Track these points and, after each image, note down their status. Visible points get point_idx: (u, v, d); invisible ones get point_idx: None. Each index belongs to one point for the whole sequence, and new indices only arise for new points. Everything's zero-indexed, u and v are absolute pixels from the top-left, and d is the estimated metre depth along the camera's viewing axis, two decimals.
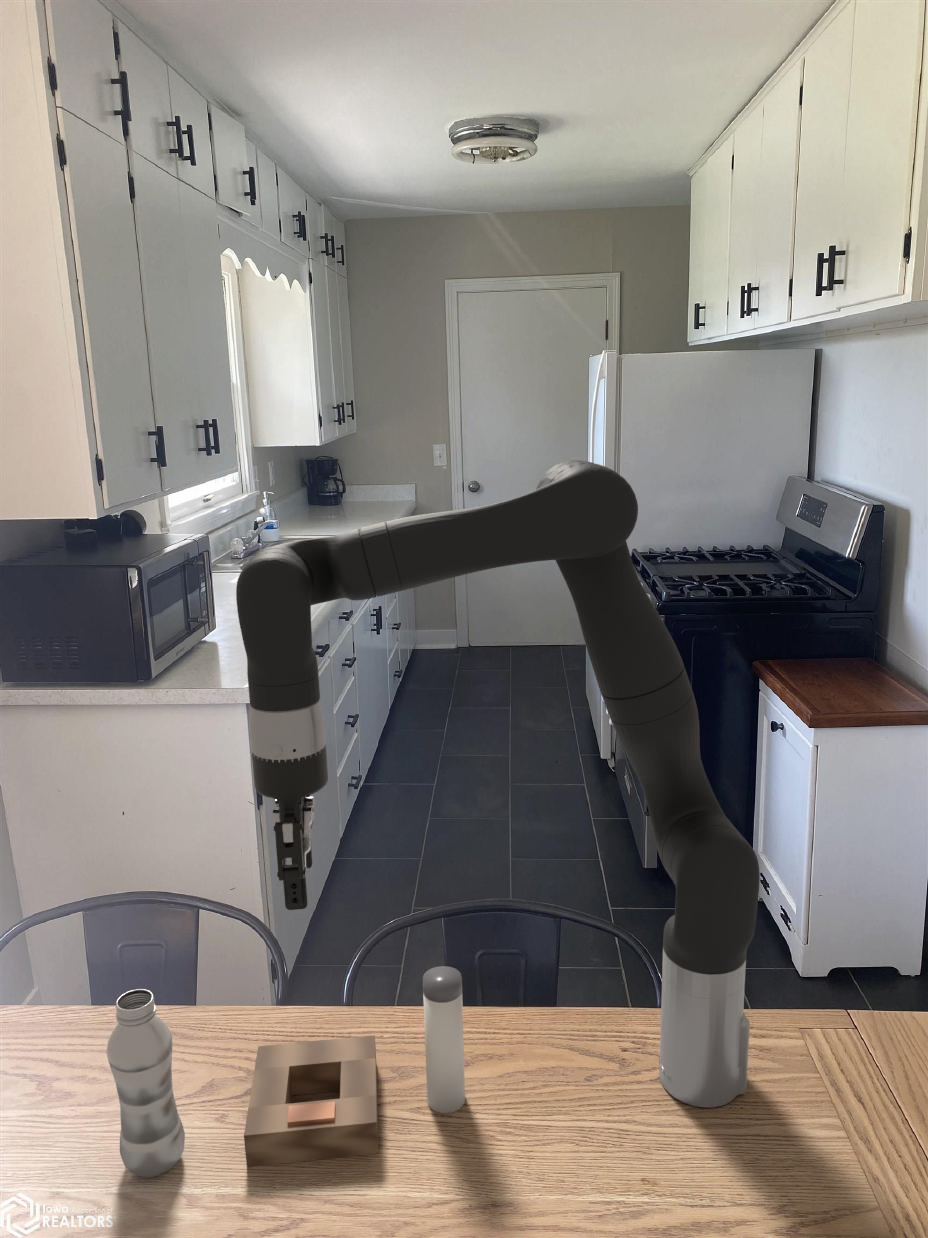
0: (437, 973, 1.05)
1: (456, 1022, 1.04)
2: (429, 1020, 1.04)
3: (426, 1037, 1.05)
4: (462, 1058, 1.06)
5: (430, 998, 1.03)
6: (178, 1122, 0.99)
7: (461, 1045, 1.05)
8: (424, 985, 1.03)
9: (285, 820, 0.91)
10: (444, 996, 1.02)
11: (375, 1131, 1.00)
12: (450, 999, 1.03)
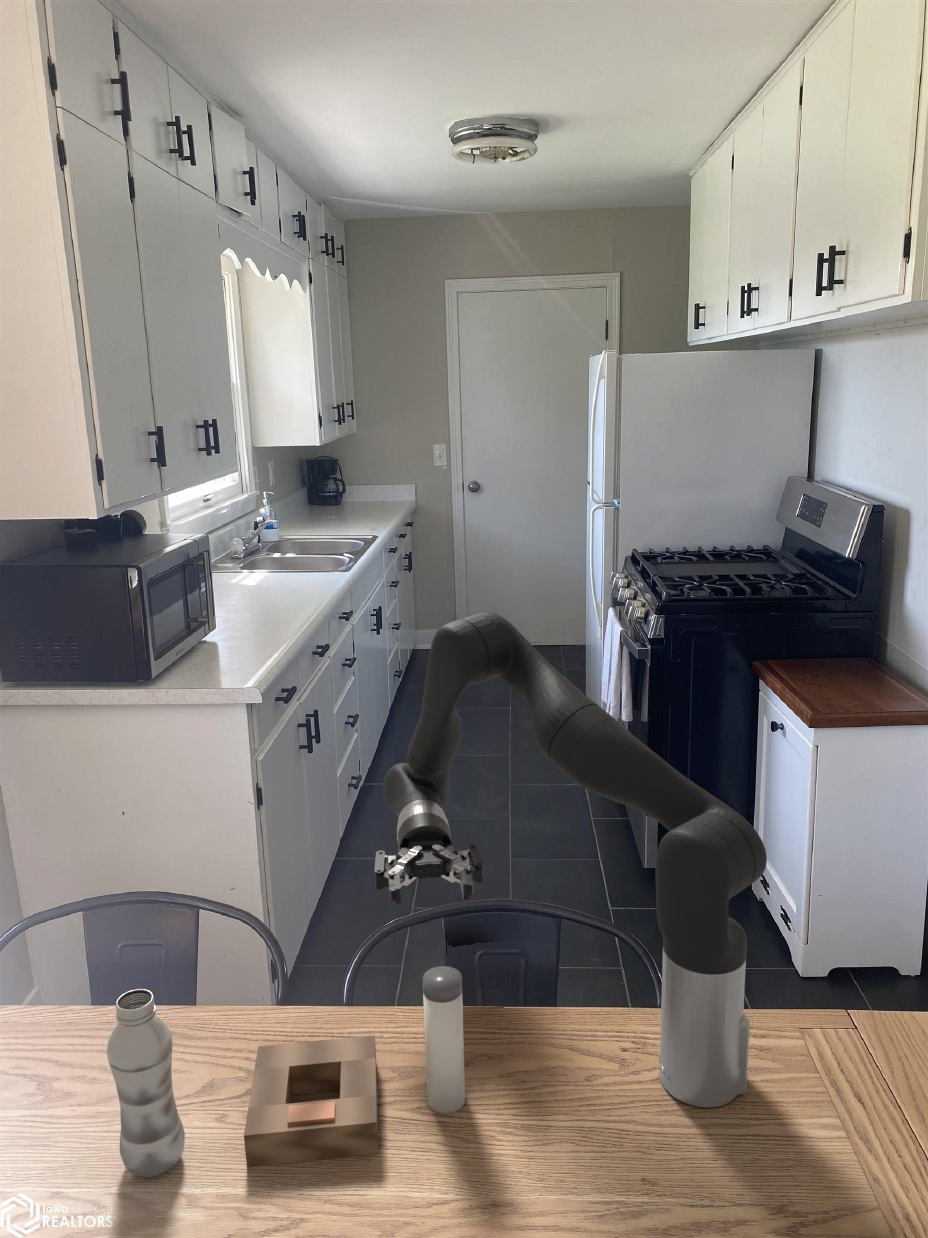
0: (437, 973, 1.05)
1: (456, 1022, 1.04)
2: (429, 1020, 1.04)
3: (426, 1037, 1.05)
4: (462, 1058, 1.06)
5: (430, 998, 1.03)
6: (178, 1122, 0.99)
7: (461, 1045, 1.05)
8: (424, 985, 1.03)
9: None
10: (444, 996, 1.02)
11: (375, 1131, 1.00)
12: (450, 999, 1.03)
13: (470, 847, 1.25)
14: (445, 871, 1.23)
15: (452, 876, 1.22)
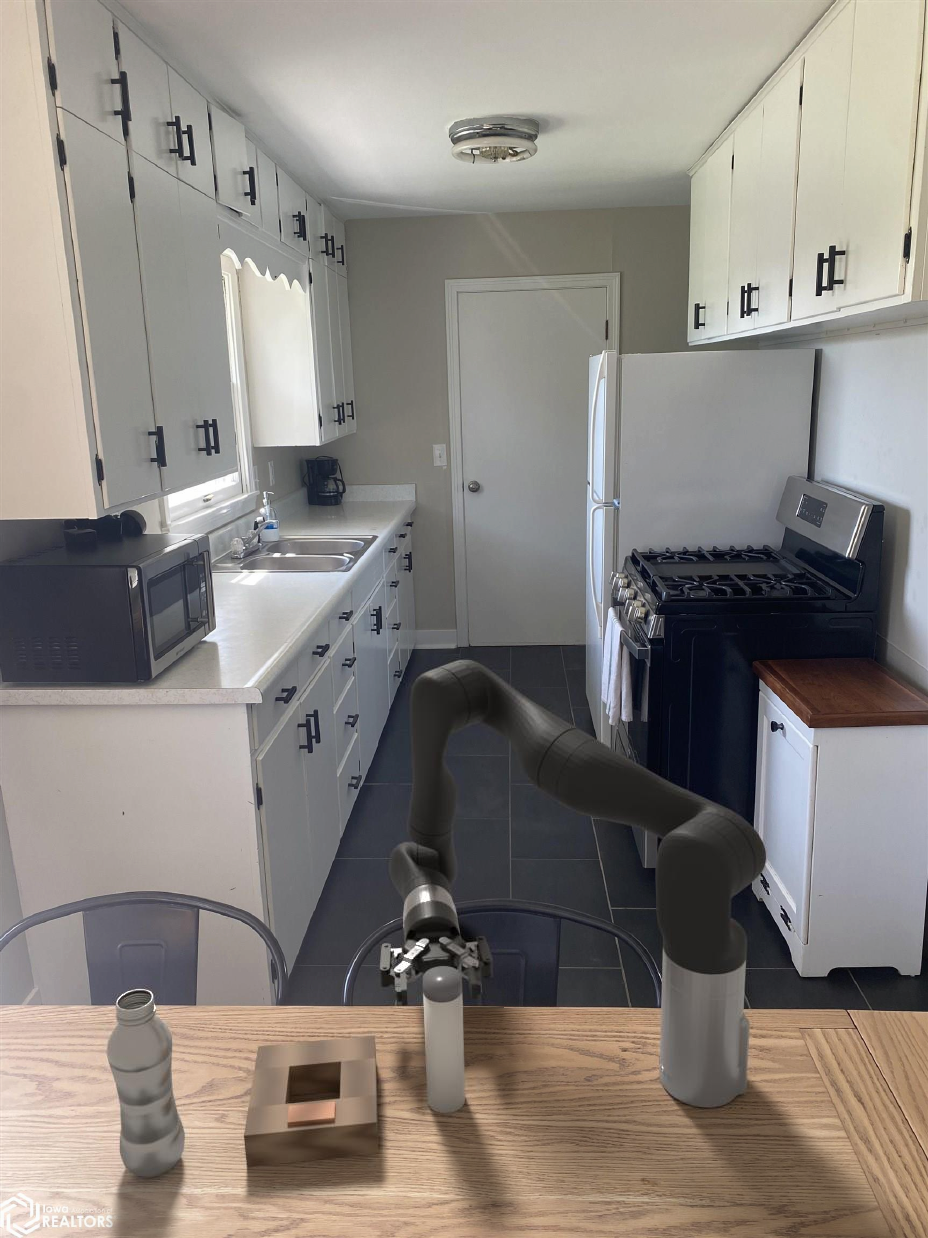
0: (437, 973, 1.05)
1: (456, 1022, 1.04)
2: (429, 1020, 1.04)
3: (426, 1037, 1.05)
4: (462, 1058, 1.06)
5: (430, 998, 1.03)
6: (178, 1122, 0.99)
7: (461, 1045, 1.05)
8: (424, 985, 1.03)
9: None
10: (444, 996, 1.02)
11: (375, 1131, 1.00)
12: (450, 999, 1.03)
13: (478, 939, 1.22)
14: (453, 966, 1.19)
15: (460, 971, 1.18)
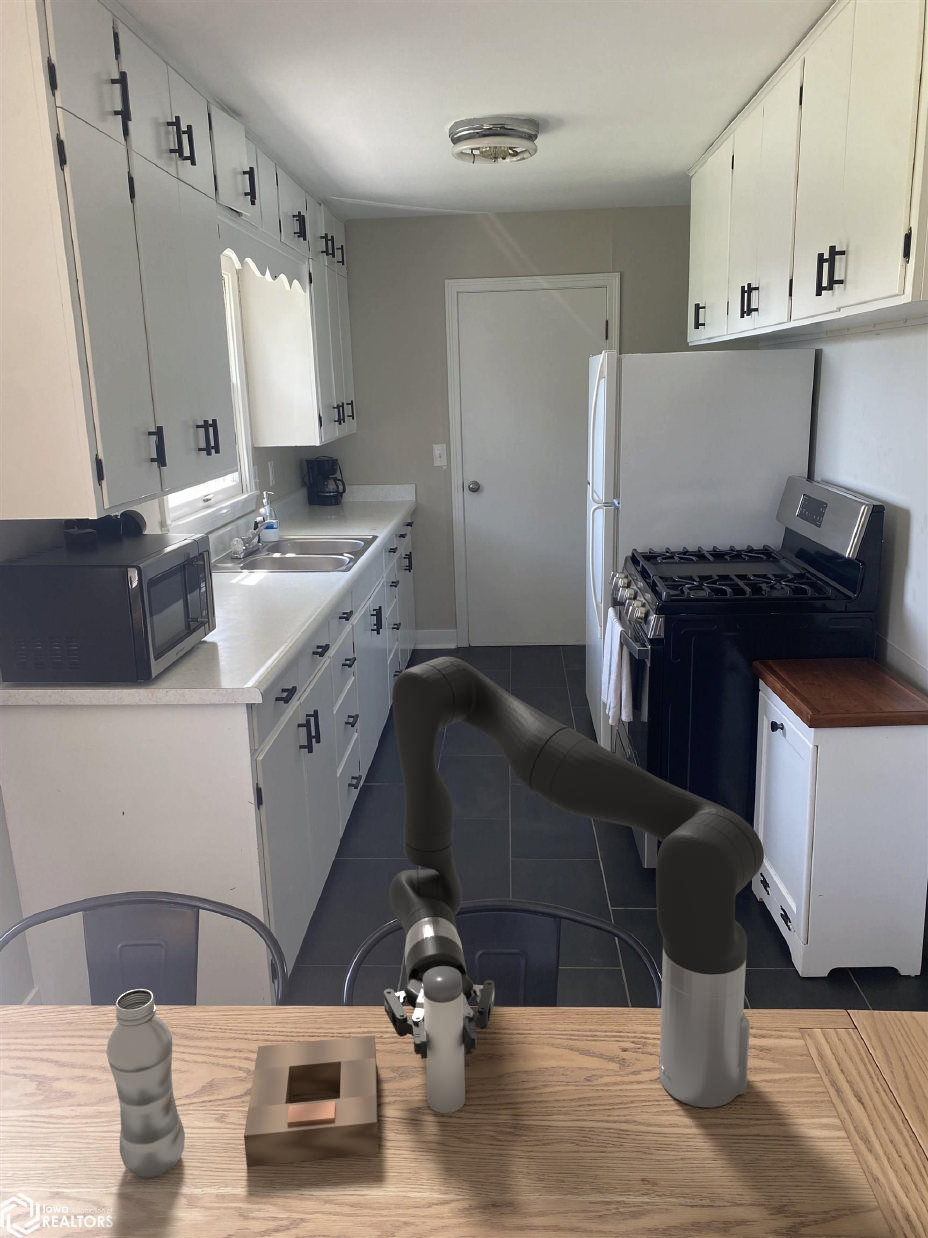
0: (437, 973, 1.05)
1: (456, 1022, 1.04)
2: (429, 1020, 1.04)
3: (426, 1037, 1.05)
4: (462, 1058, 1.06)
5: (430, 998, 1.03)
6: (178, 1122, 0.99)
7: (461, 1045, 1.05)
8: (424, 985, 1.03)
9: None
10: (444, 996, 1.02)
11: (375, 1131, 1.00)
12: (450, 999, 1.03)
13: (486, 984, 1.13)
14: None
15: None
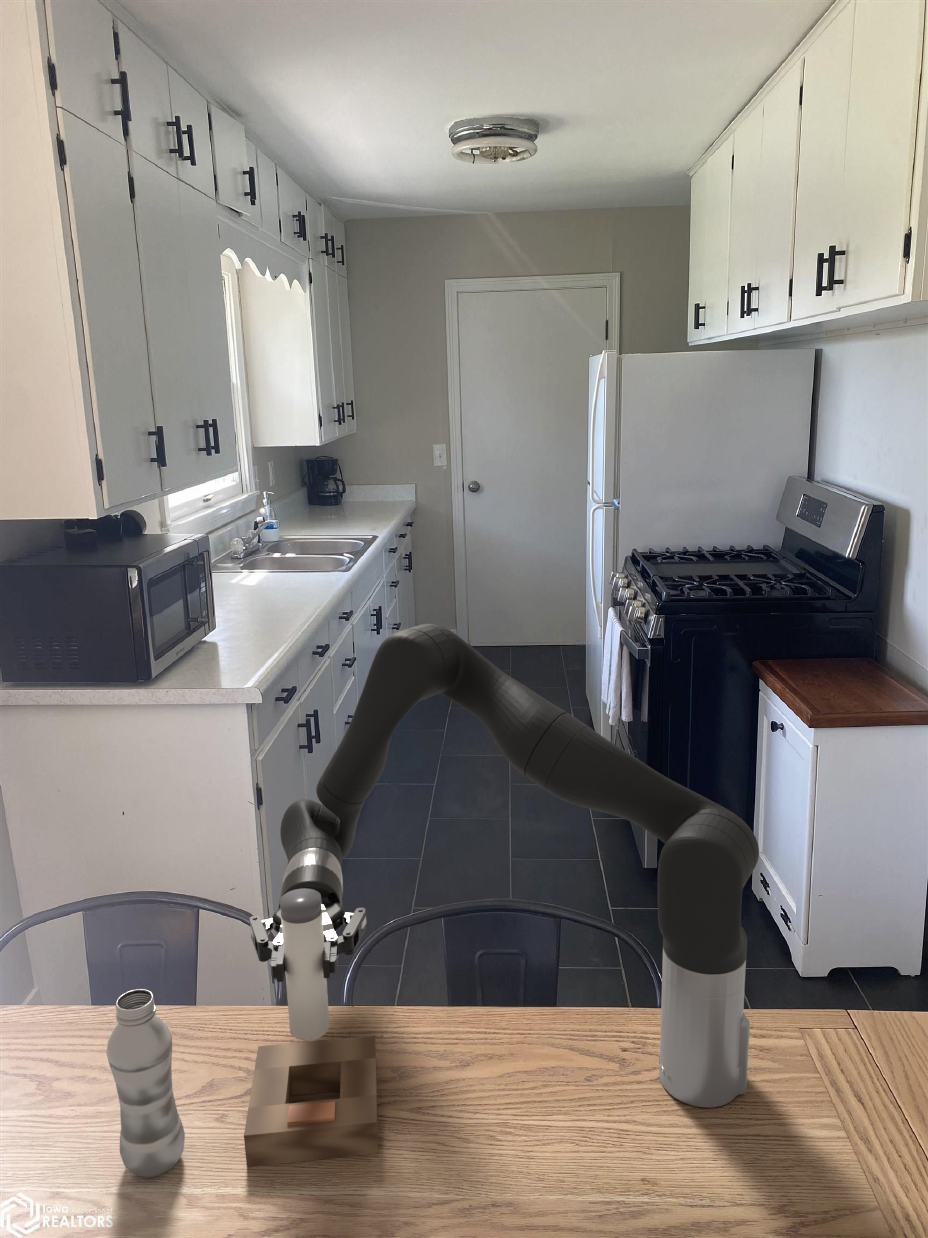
0: (296, 895, 1.01)
1: (314, 944, 1.00)
2: (286, 942, 1.00)
3: (285, 961, 1.01)
4: (323, 983, 1.02)
5: (286, 919, 0.99)
6: (178, 1122, 0.99)
7: (321, 969, 1.01)
8: (280, 906, 0.99)
9: None
10: (300, 916, 0.98)
11: (375, 1131, 1.00)
12: (306, 920, 0.99)
13: (356, 911, 1.09)
14: None
15: None
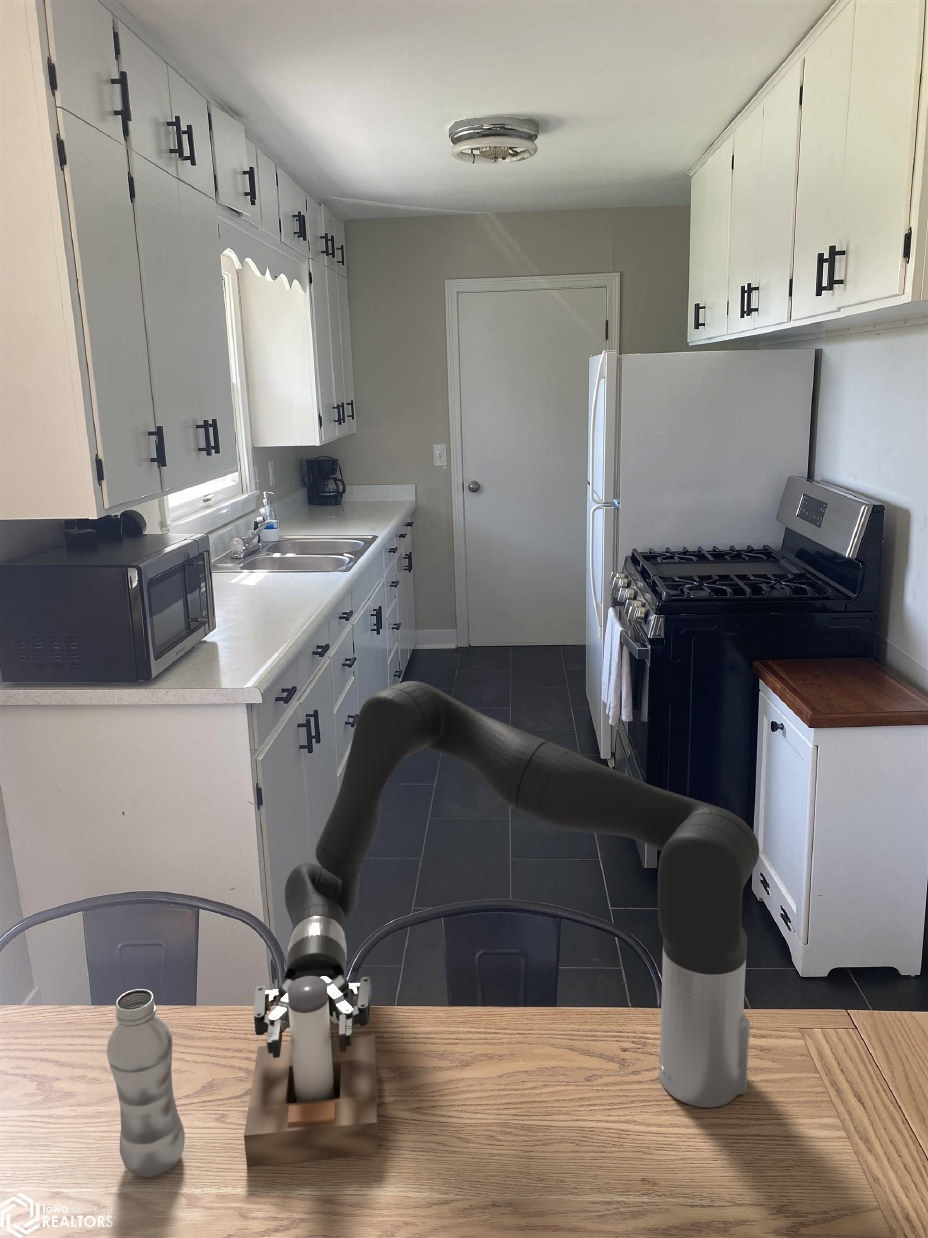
0: (303, 983, 1.04)
1: (321, 1032, 1.02)
2: (293, 1030, 1.02)
3: (292, 1048, 1.04)
4: (329, 1069, 1.04)
5: (293, 1008, 1.02)
6: (178, 1122, 0.99)
7: (328, 1056, 1.04)
8: (288, 995, 1.02)
9: None
10: (307, 1006, 1.01)
11: (375, 1131, 1.00)
12: (313, 1009, 1.01)
13: (362, 980, 1.11)
14: None
15: (335, 1017, 1.08)
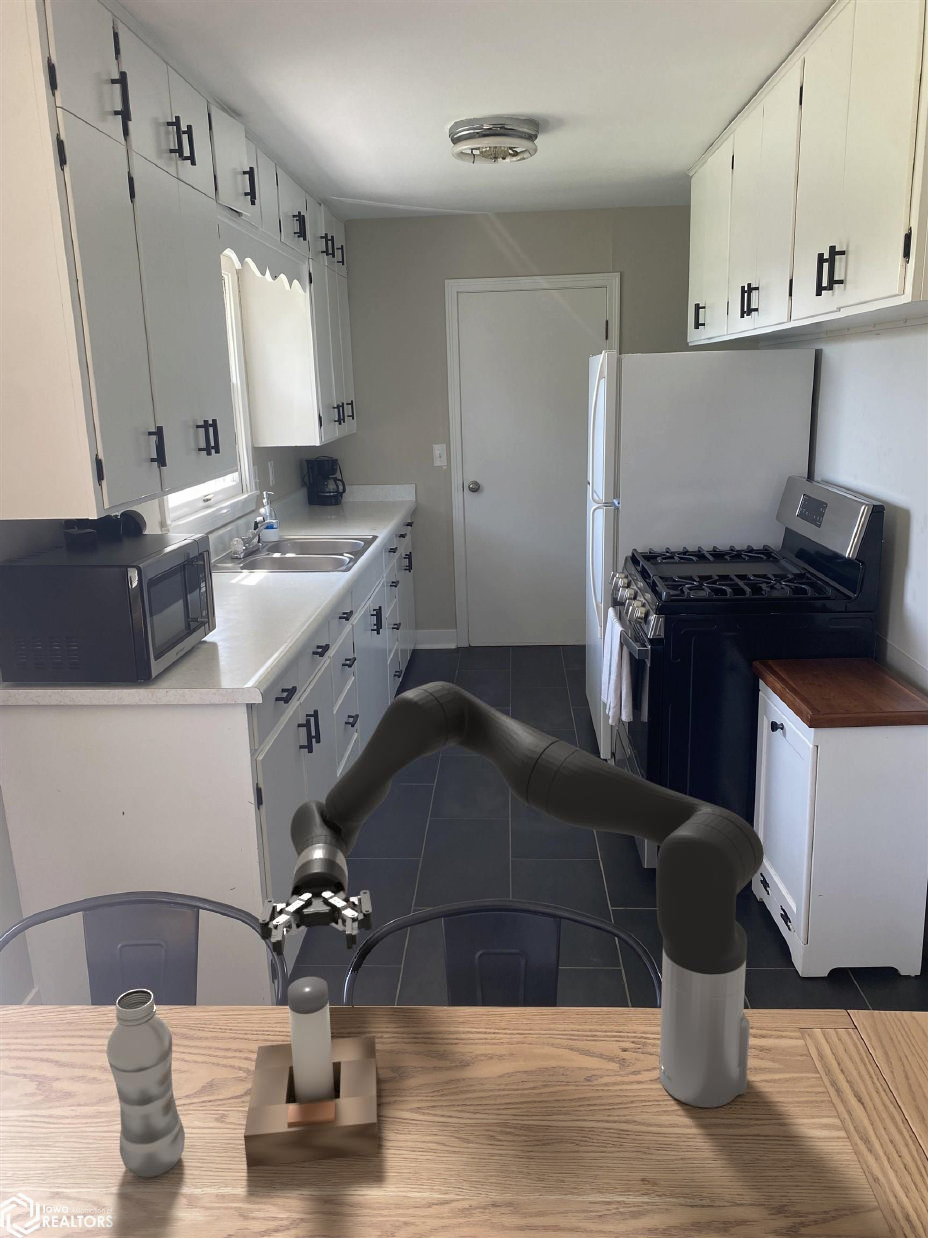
0: (303, 984, 1.04)
1: (321, 1033, 1.02)
2: (293, 1031, 1.02)
3: (292, 1049, 1.04)
4: (329, 1070, 1.04)
5: (293, 1009, 1.01)
6: (178, 1122, 0.99)
7: (328, 1057, 1.04)
8: (288, 996, 1.02)
9: None
10: (307, 1007, 1.01)
11: (375, 1131, 1.00)
12: (313, 1010, 1.01)
13: (362, 893, 1.23)
14: (334, 919, 1.20)
15: (341, 924, 1.19)
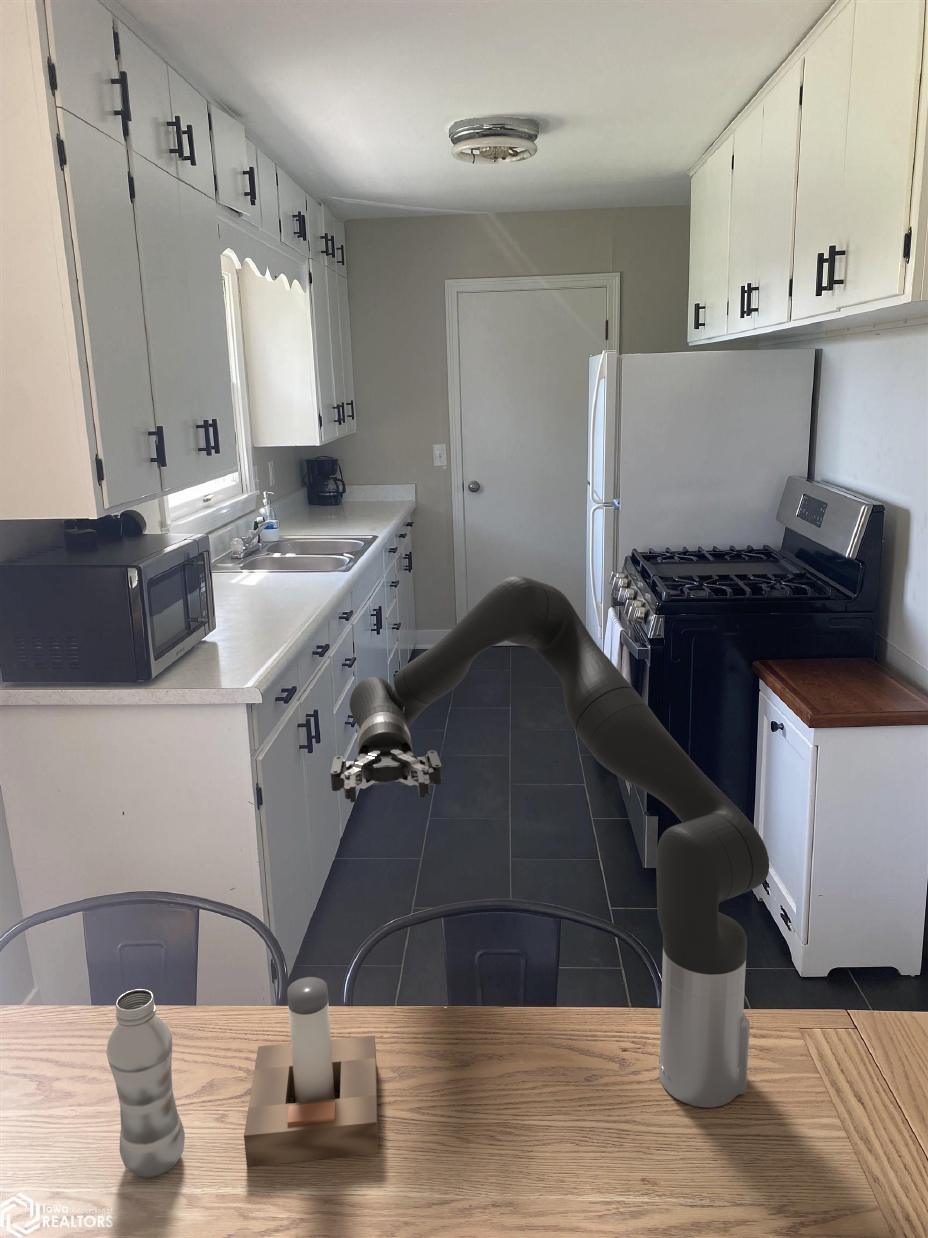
0: (303, 985, 1.04)
1: (321, 1034, 1.02)
2: (293, 1032, 1.02)
3: (292, 1049, 1.03)
4: (329, 1070, 1.04)
5: (293, 1010, 1.01)
6: (178, 1122, 0.99)
7: (328, 1057, 1.04)
8: (288, 997, 1.02)
9: None
10: (307, 1008, 1.01)
11: (375, 1131, 1.00)
12: (313, 1011, 1.01)
13: (429, 752, 1.24)
14: (403, 774, 1.21)
15: (410, 778, 1.20)
